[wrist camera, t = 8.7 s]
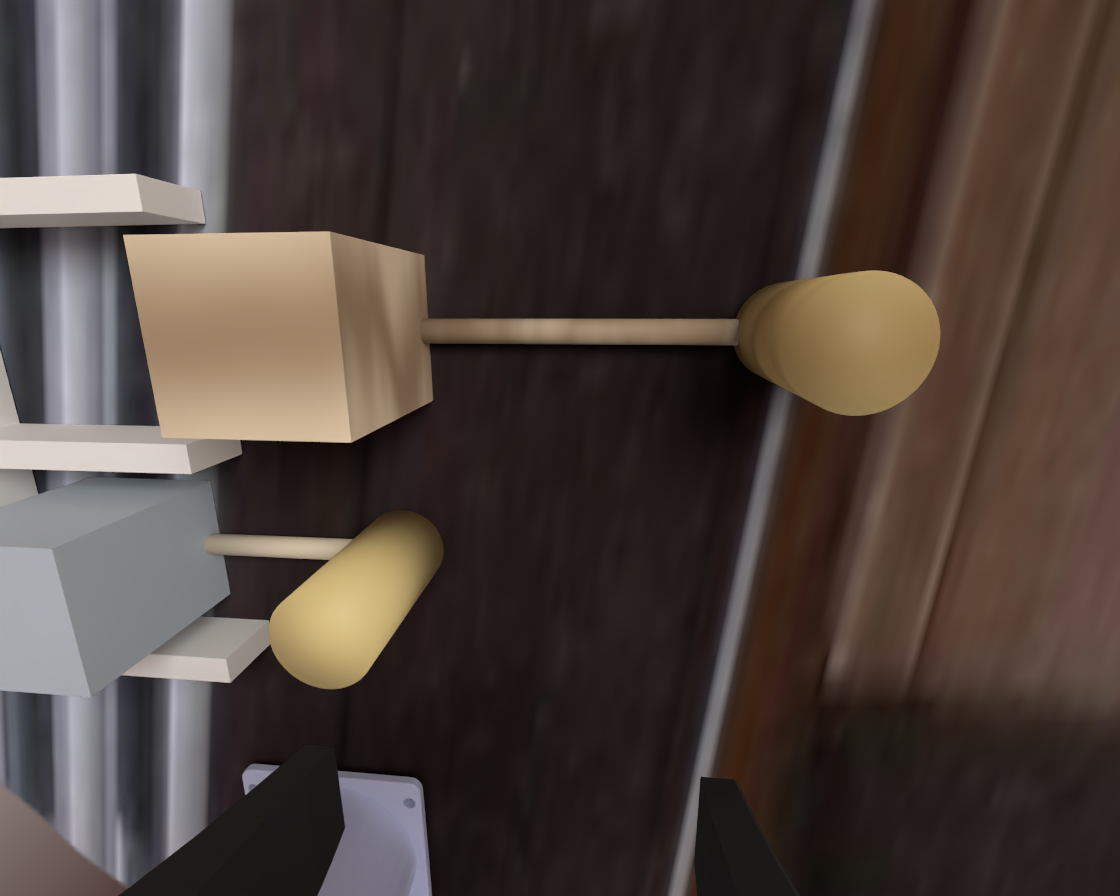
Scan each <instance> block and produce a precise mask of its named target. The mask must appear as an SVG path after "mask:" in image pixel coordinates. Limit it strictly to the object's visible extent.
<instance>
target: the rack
mask: <svg viewBox="0 0 1120 896" xmlns="http://www.w3.org/2000/svg"><path fill="white" fill-rule="evenodd" d="M170 224H206V223H205V217H204V211H203V204H202V198H201V192H200V191H198V190H194V189H190V188H186V187H183V186H179V185H175V184H172V183H168V182H164V181H161V180H157V179H153V178H149V177H146V176H142V175H138V174H113V175H82V176H51V177H20V178H0V228H31V227H78V226H124V225H170ZM241 454H242V449H241V442H240V440H229V439H191V438H162V434H161V429H160V426H123V425H72V424H21V423H19V419H18V415H17V411H16V408H15V404H14V400H13V396H12V392H11V389H10V385H9V381H8V377H7V374H6V370H5V366H4V362H3V358H2V355H1V351H0V507H1V506H5V505H8V504H11V503H14V502H17V501H20V500H23V499H26V498H29V497H32V496H35V495H38V491H37V487H36V483H35V480H34V476H33V472H32V469H33V470H68V471H102V472H136V473H170V474H193V473H196V472H198V471H201V470H203V469H206V468H208V467H211V466H213V465H216V464H218V463H221V462H223V461H226V460H228V459H231V458H233V457H236V456H238V455H241ZM269 645H270V640H269V620H253V619H236V618H219V617H201V616H200V617H199V618H197V619H196V620H195V621H193V622H192V623H191V624H189V625H188V626H187V627H185V628H184V629H183V630H181V631H180V632H179V633H177V634H176V635H175V636H173V637H172V638H170V639H169V640H168V641H166V642H165V643H164V644H162V645H161V646H160V647H158V648H157V649H156V650H154V651H153V652H152V653H150V654H149V655H148V656H146V657H145V658H144V659H142V660H141V661H140V662H138V663H137V664H135V665H134V666H133V667H131V668H130V669H129V670H127V671H126V672H125V673H123V674H122V675H127V676H141V677H155V678H169V679H183V680H197V681H212V682H226V683H231V682H232V681H233V680H234V679H235V678H236V677H237V676H238V675H239V674H240V673H241V672H242V671H243V670H244V669H245V668H246V667H247V666H248V665H249V664H250V663H251V662H252V661H253V660H254V659H255V658H256V657H257V656H259V655H260V654H261V653H262V652H263V651H264V650H265V649H266V648H267V647H268V646H269Z"/></svg>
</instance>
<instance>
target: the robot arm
mask: <svg viewBox="0 0 1120 896" xmlns="http://www.w3.org/2000/svg"><path fill="white" fill-rule="evenodd" d="M242 779H243V785H244V790H245V796H244V797H243V798H241V799H240V800H239V801H238V802H237V803H235V804H234V805H233V806H232V807H231V808H229V809H228V810H227V811H226V812H225V813H223V814H222V815H221V816H220V817H218V818H217V819H216V820H215V821H214V822H212V823H211V824H210V825H209V826H208V827H206V828H205V829H204V830H203V831H202V832H200V833H199V834H198V835H197V836H195V837H194V838H193V839H192V840H190V841H189V842H188V843H186V844H185V845H184V846H183V847H181V848H180V849H179V850H177V851H176V852H175V853H174V854H172V855H171V856H170V857H168V858H167V859H166V860H165V861H163V862H162V863H161V864H159V865H158V866H157V867H155V868H154V869H153V870H152V871H150V872H149V873H148V874H146V875H145V876H144V877H143V878H141V879H140V880H139V881H137V882H136V883H135V884H134V885H132V886H131V887H130V888H128V889H127V890H125V891H124V892H123V893H121V894H120V895H119V896H432V888H431V876H430V865H429V853H428V841H427V830H426V818H425V806H424V795H423V786H422V784H421V783H420V781H419V780H417V779H416V778H412V777H403V776H392V775H380V774H369V773H357V772H346V771H338V770H337V762H336V755H335V747H331V746H318V745H305V746H303V747H302V748H301V749H300V750H298V751H297V752H296V753H295V754H294V755H292V756H291V757H290V758H289V759H288V760H286V761H285V762H284V763H283V764H282V765H280V766H277V765H265V764H251V765H249V766H248V767H247V769H246V770H245V771H244V773H243V774H242ZM409 798H410V799H409ZM411 799H412V800H411ZM694 864H695V874H696V885H697V895H698V896H800V895H799V894H798V892H797V890H796V889H795V887H794V885H793V884H792V882H791V881H790V879H789V877H788V876H787V874H786V872H785V870H784V869H783V867H782V865H781V863H780V862H779V860H778V858H777V856H776V855H775V853H774V851H773V849H772V847H771V846H770V844H769V842H768V840H767V838H766V837H765V835H764V833H763V831H762V829H761V827H760V825H759V823H758V822H757V820H756V818H755V816H754V814H753V812H752V810H751V808H750V806H749V804H748V802H747V800H746V798H745V796H744V794H743V791H742V789H741V787H740V785H739V784H738V783H737V782H736V781H735V780H732V779H720V778H708V777H701V780H700V794H699V807H698V820H697V833H696V846H695V860H694Z"/></svg>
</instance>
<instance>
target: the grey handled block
mask: <svg viewBox="0 0 1120 896" xmlns="http://www.w3.org/2000/svg"><path fill="white" fill-rule="evenodd" d="M224 555H234V556H255V557H277V558H298V559H320V560H329V561H328V562H327V563H326V564H325V565H324V566H322V567H321V568H320V569H319V570H318V571H317V572H316V573H315V574H313V575H312V576H311V577H310V578H309V579H308V580H307V581H305V582H304V583H303V584H302V585H301V586H300V587H299V588H297V589H296V590H295V591H294V592H293V593H292V594H291V595H290V596H288V597H287V598H286V599H285V600H284V601H283V602H282V603H280V604H279V605H278V607H277V608H276V609H275V611H274V612H273V614H272V617H271V619H270V623H269V640H270V644H271V647H272V650H273V652H274V654H275V656H276V658H277V659H278V661H279V662H280V663H281V665H282V666H283V667H284V668H285V669H286V670H287V671H288V672H289V673H290V674H291V675H293V676H294V677H295V678H297V679H299V680H300V681H302V682H304V683H306V684H309V685H311V686H314V687H318V688H324V689H339V688H344V687H347V686H350V685H352V684H354V683H356V682H358V681H359V680H360V679H361V678H363V677H364V675H365V674H366V673H367V672H368V670H369V669H370V667H371V666H372V664H373V663H374V662H375V660H376V659H377V657H378V656H379V654H380V653H381V651H382V650H383V648H384V647H385V646H386V644H387V643H388V641H389V640H390V638H391V637H392V635H393V634H394V632H395V631H396V630H397V628H398V627H399V625H400V624H401V622H402V621H403V619H404V618H405V616H406V615H407V614H408V612H409V611H410V609H411V608H412V606H413V605H414V603H415V602H416V600H417V599H418V598H419V596H420V595H421V593H422V592H423V590H424V589H425V587H426V586H427V584H428V583H429V582H430V580H431V579H432V577H433V576H434V574H435V573H436V571H437V570H438V568H439V567H440V565H441V563H442V560H443V555H444V547H443V542H442V538H441V536H440V534H439V532H438V530H437V529H436V527H435V526H434V525H433V524H432V523H431V522H430V521H429V520H428V519H427V518H425V517H423V516H422V515H420V514H418V513H415V512H413V511H408V510H393V511H389V512H386V513H384V514H382V515H381V516H379V517H378V518H377V519H376V520H375V521H374V522H372V523H371V524H370V525H369V526H368V527H367V528H366V529H364V530H363V531H362V532H361V533H360V534H359V535H358V536H357V537H355V538H354V539H337V538H313V537H289V536H266V535H242V534H220V532H219V527H218V521H217V516H216V510H215V504H214V499H213V493H212V487H211V482H210V481H202V480H170V479H138V478H106V477H90V478H87V479H84V480H81V481H78V482H75V483H72V484H69V485H66V486H63V487H60V488H57V489H53V490H50V491H47V492H44V493H41V494H38V495H35V496H32V497H29V498H26V499H23V500H20V501H17V502H14V503H11V504H8V505H5V506H1V507H0V690H3V691H16V692H29V693H41V694H54V695H67V696H80V697H92V696H94V695H95V694H96V693H98V692H99V691H100V690H102V689H103V688H105V687H106V686H107V685H109V684H110V683H111V682H113V681H114V680H115V679H117V678H118V677H119V676H121V675H122V674H123V673H125V672H126V671H127V670H129V669H130V668H131V667H133V666H134V665H135V664H137V663H138V662H140V661H141V660H142V659H144V658H145V657H146V656H148V655H149V654H150V653H152V652H153V651H154V650H156V649H157V648H158V647H160V646H161V645H162V644H164V643H165V642H166V641H168V640H169V639H170V638H172V637H173V636H175V635H176V634H177V633H179V632H180V631H181V630H183V629H184V628H185V627H187V626H188V625H189V624H191V623H192V622H193V621H195V620H196V619H197V618H199V617H200V616H201V615H203V614H204V613H205V612H207V611H208V610H209V609H211V608H212V607H214V606H215V605H216V604H218V603H219V602H220V601H222V600H223V599H224V598H226V597H227V596H228V595H230V589H229V583H228V577H227V572H226V566H225V561H224Z"/></svg>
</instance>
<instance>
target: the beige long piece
mask: <svg viewBox="0 0 1120 896" xmlns="http://www.w3.org/2000/svg"><path fill="white" fill-rule="evenodd" d="M123 238H124V243H125V248H126V253H127V258H128V263H129V269H130V274H131V279H132V284H133V289H134V294H135V300H136V305H137V310H138V315H139V320H140V325H141V331H142V336H143V341H144V346H145V351H146V356H147V362H148V367H149V372H150V377H151V382H152V387H153V393H154V398H155V403H156V408H157V413H158V418H159V424H160V429H161V434H162V438H191V439H229V440H267V441H306V442H344V443H352V442H354V441H356V440H358V439H359V438H361V437H363V436H365V435H367V434H369V433H371V432H373V431H375V430H377V429H379V428H381V427H383V426H385V425H387V424H389V423H391V422H393V421H395V420H396V419H398V418H400V417H402V416H404V415H406V414H408V413H410V412H412V411H414V410H416V409H418V408H420V407H422V406H424V405H426V404H428V403H430V402H431V401H433V392H432V376H431V359H430V343H442V344H599V345H734V348H735V351H736V354H737V356H738V358H739V359H740V361H741V362H742V363H743V365H744V366H745V367H746V368H748V369H749V370H750V371H752V372H753V373H755V374H757V375H759V376H761V377H763V378H765V379H767V380H769V381H770V382H772V383H774V384H776V385H778V386H780V387H782V388H784V389H786V390H788V391H790V392H792V393H794V394H796V395H798V396H800V397H802V398H804V399H806V400H808V401H810V402H812V403H814V404H815V405H817V406H819V407H821V408H823V409H825V410H828V411H830V412H833V413H837V414H842V415H851V416H859V415H868V414H873V413H877V412H880V411H883V410H886V409H888V408H891V407H893V406H894V405H896V404H898V403H900V402H901V401H903V400H904V399H906V398H907V397H908V396H910V395H911V394H912V393H913V392H914V391H915V390H916V389H917V388H918V387H919V386H920V385H921V384H922V382H923V381H924V380H925V378H926V377H927V375H928V374H929V372H930V370H931V368H932V366H933V365H934V362H935V359H936V357H937V353H938V349H939V344H940V324H939V319H938V315H937V312H936V309H935V307H934V305H933V303H932V301H931V300H930V298H929V297H928V296H927V294H926V293H925V292H924V291H923V290H922V289H921V288H920V287H919V286H918V285H916V284H915V283H914V282H912V281H911V280H909V279H907V278H905V277H903V276H901V275H898V274H895V273H891V272H886V271H874V270H873V271H861V272H854V273H847V274H839V275H832V276H825V277H818V278H810V279H803V280H796V281H788V282H781V283H776V284H772V285H769V286H766V287H764V288H762V289H760V290H759V291H757V292H755V293H754V294H753V295H752V296H750V297H749V298H748V299H747V301H746V302H745V303H744V304H743V305H742V307H741V308H740V310H739V312H738V314H737V316H736V319H428V311H427V294H426V278H425V262H424V255H421V254H417V253H413V252H409V251H405V250H401V249H397V248H393V247H389V246H385V245H381V244H377V243H373V242H369V241H365V240H361V239H357V238H353V237H349V236H345V235H341V234H337V233H333V232H274V233H211V234H147V235H123Z"/></svg>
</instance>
